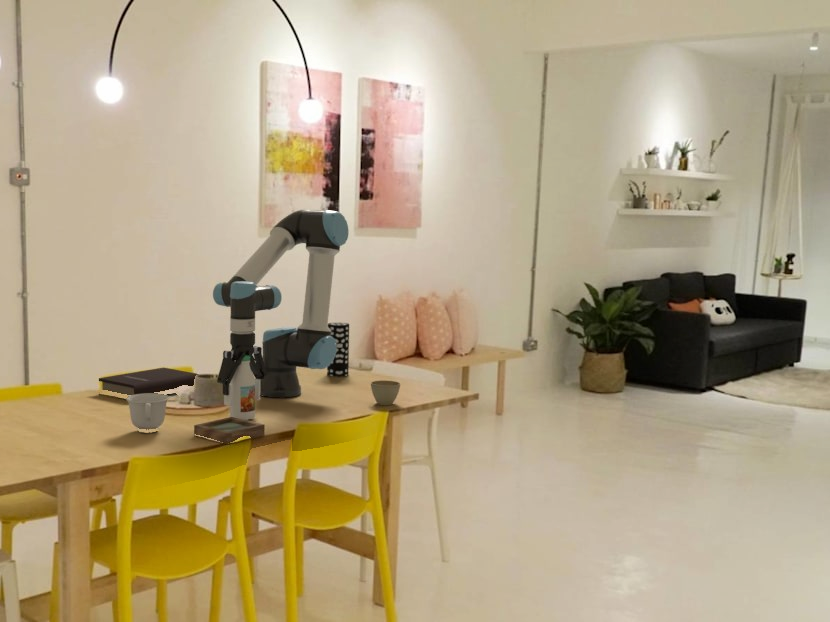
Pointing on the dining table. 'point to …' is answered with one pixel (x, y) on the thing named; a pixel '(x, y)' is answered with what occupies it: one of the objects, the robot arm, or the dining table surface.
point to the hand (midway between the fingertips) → (242, 402)
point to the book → (147, 381)
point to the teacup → (147, 410)
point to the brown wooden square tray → (229, 429)
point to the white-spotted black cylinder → (340, 350)
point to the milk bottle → (243, 391)
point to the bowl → (385, 391)
